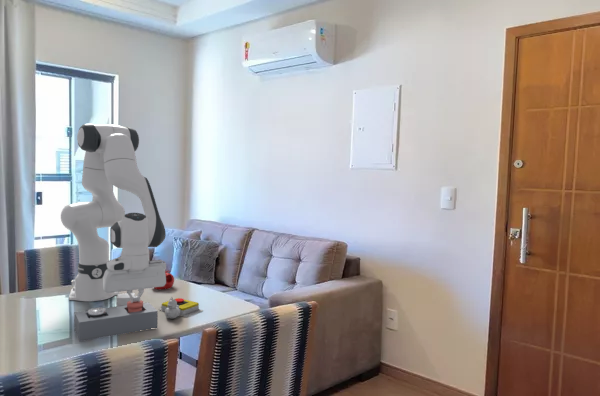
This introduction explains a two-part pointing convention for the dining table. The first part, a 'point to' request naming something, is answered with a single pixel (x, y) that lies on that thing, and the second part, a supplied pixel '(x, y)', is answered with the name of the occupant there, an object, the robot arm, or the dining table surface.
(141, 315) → the block
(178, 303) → the emergency button
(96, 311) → the grey plunger
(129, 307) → the red plunger
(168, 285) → the pomegranate
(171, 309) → the grey figurine
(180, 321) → the dining table surface
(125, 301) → the light grey cube
